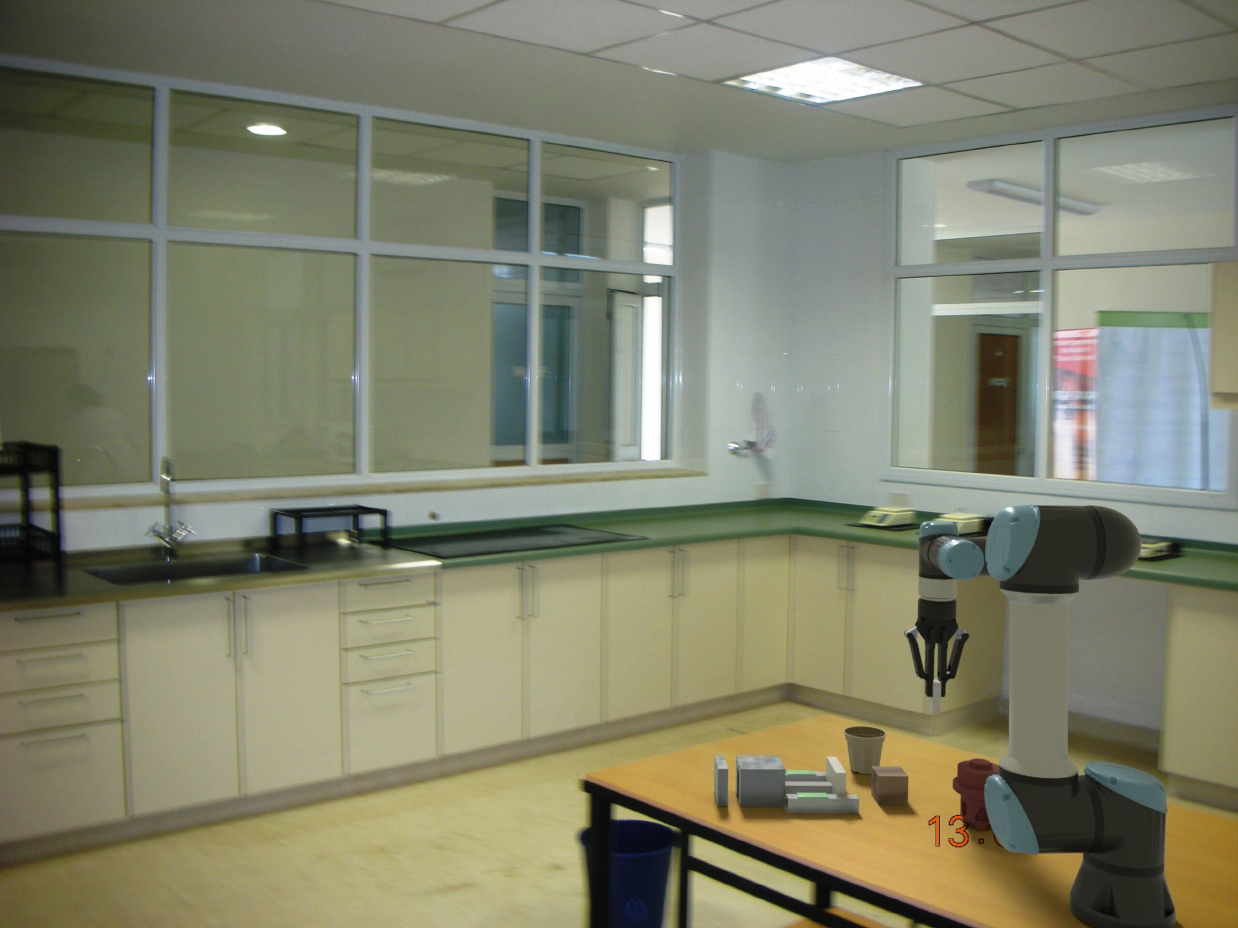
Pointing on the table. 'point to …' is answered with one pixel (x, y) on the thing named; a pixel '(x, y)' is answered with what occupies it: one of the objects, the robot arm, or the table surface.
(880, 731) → the flower pot
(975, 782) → the mechanical component
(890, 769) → the walnut block
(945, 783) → the table surface
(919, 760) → the table surface
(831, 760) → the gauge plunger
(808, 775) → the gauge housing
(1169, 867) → the table surface
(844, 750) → the table surface
